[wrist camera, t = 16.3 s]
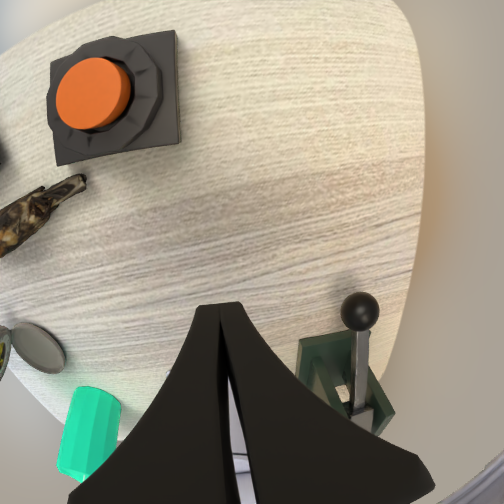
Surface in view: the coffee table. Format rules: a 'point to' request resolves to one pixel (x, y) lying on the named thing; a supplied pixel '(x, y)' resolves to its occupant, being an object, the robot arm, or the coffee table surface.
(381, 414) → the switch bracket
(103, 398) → the candle
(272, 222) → the coffee table surface
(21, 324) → the pocket watch
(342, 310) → the switch lever
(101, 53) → the switch box
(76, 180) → the bird model
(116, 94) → the box button
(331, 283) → the coffee table surface
